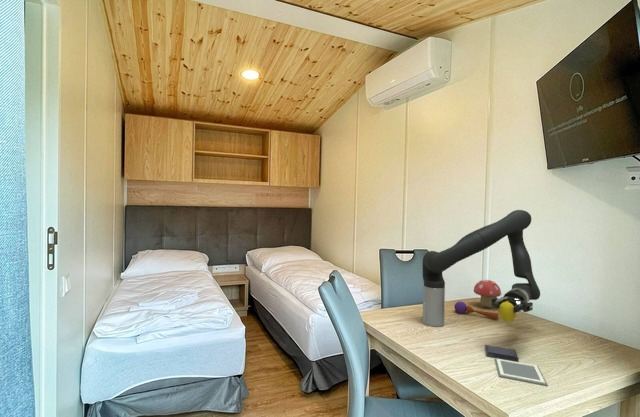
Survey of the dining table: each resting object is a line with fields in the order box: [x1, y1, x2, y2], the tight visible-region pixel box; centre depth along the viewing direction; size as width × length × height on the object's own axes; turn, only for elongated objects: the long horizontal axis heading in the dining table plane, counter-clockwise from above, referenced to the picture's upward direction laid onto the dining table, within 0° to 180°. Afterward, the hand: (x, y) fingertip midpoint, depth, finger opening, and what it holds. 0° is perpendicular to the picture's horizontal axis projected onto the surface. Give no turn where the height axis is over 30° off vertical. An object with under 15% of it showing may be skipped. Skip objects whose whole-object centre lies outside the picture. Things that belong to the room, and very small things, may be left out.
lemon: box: [497, 301, 517, 324], centre depth 120 cm, size 6×6×8 cm
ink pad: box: [484, 344, 520, 363], centre depth 120 cm, size 10×8×2 cm
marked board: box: [494, 358, 549, 387], centre depth 107 cm, size 13×13×1 cm
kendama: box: [454, 300, 499, 321], centre depth 164 cm, size 6×6×20 cm
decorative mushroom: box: [473, 279, 502, 309], centre depth 178 cm, size 13×13×15 cm
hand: (505, 308), depth 118 cm, fingers closed on lemon, 5 cm apart
